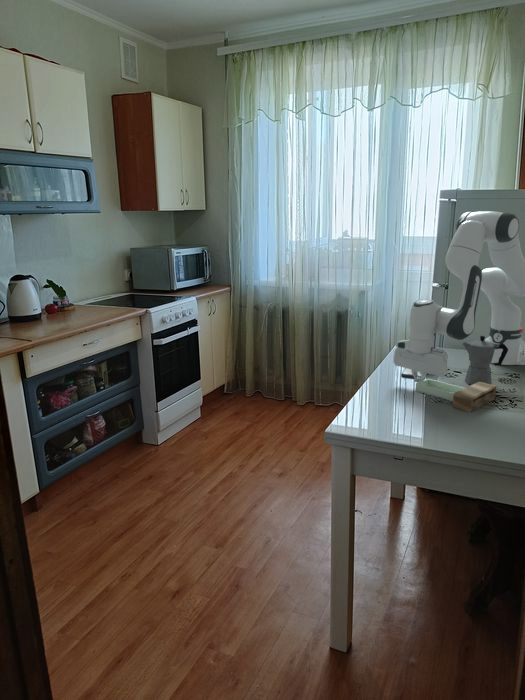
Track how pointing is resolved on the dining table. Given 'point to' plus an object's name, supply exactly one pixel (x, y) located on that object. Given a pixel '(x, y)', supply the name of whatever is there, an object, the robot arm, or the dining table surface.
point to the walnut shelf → (474, 396)
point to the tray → (437, 389)
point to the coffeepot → (482, 360)
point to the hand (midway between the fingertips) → (418, 382)
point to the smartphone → (409, 373)
